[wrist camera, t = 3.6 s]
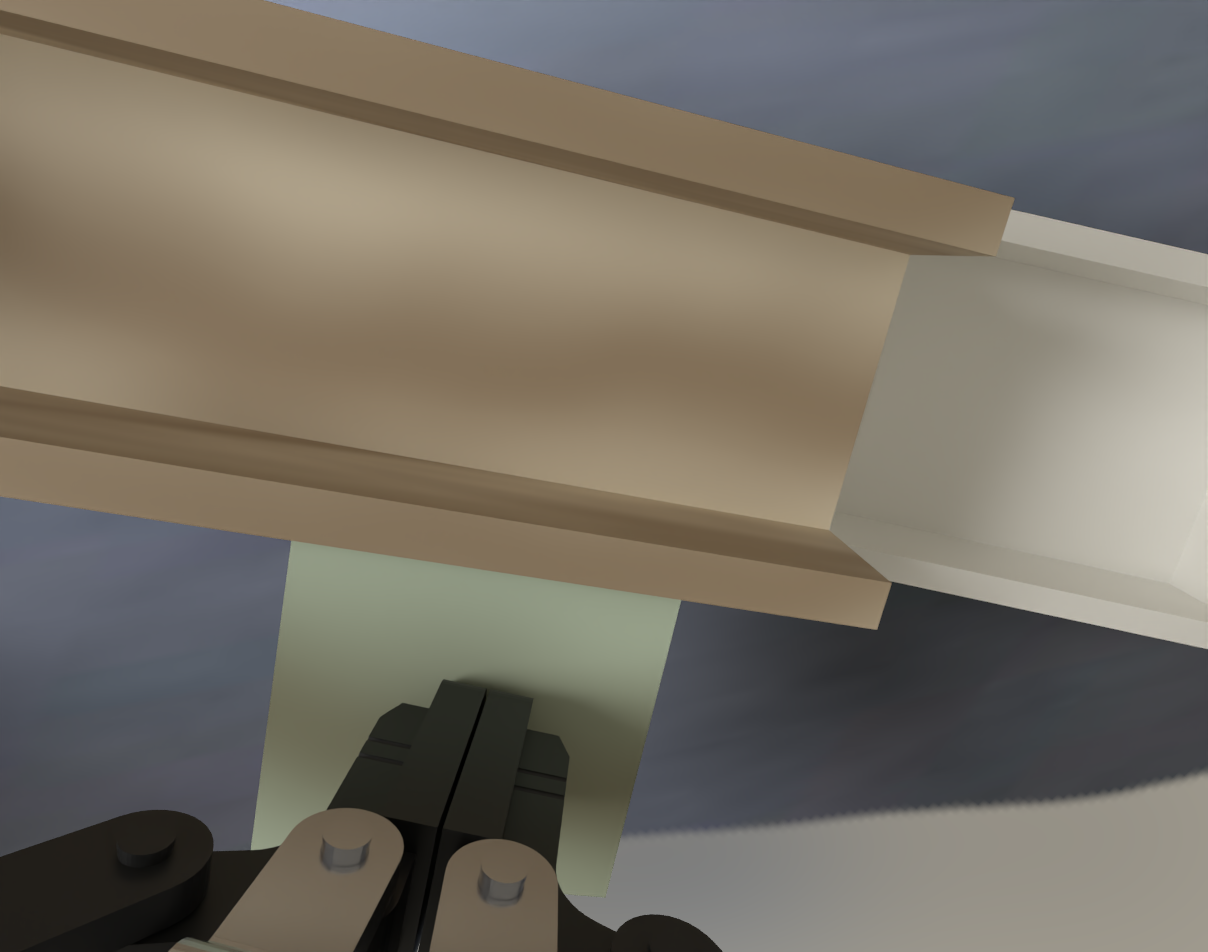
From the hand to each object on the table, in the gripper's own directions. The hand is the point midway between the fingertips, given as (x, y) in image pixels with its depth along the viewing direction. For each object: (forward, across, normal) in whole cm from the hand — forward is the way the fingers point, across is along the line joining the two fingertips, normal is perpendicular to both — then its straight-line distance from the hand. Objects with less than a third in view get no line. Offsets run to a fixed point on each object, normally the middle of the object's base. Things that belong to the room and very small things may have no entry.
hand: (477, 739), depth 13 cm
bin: (+9, -11, -6) cm, 16 cm away
